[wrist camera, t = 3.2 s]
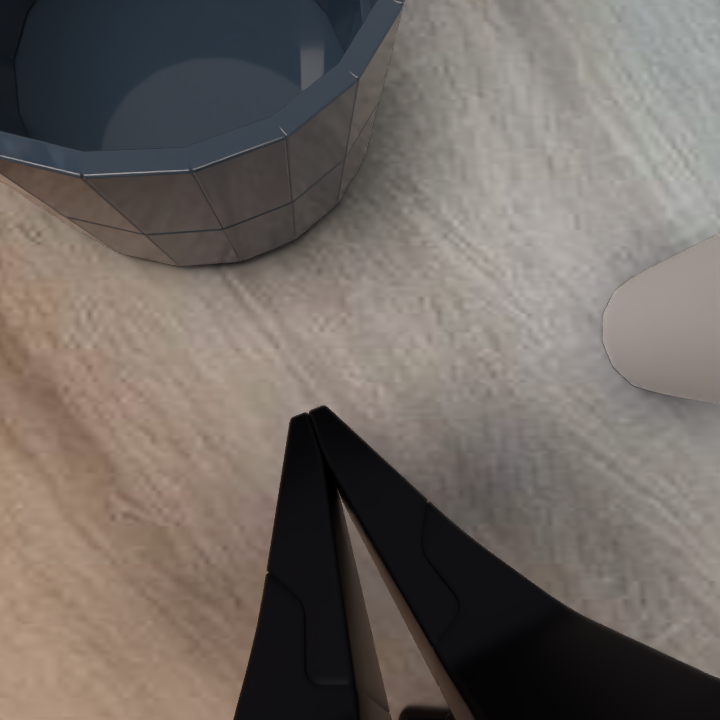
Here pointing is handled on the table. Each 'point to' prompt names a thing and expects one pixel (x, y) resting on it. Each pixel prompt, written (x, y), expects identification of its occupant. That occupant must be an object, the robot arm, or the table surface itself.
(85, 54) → the bowl
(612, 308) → the foam cup
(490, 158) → the table surface
